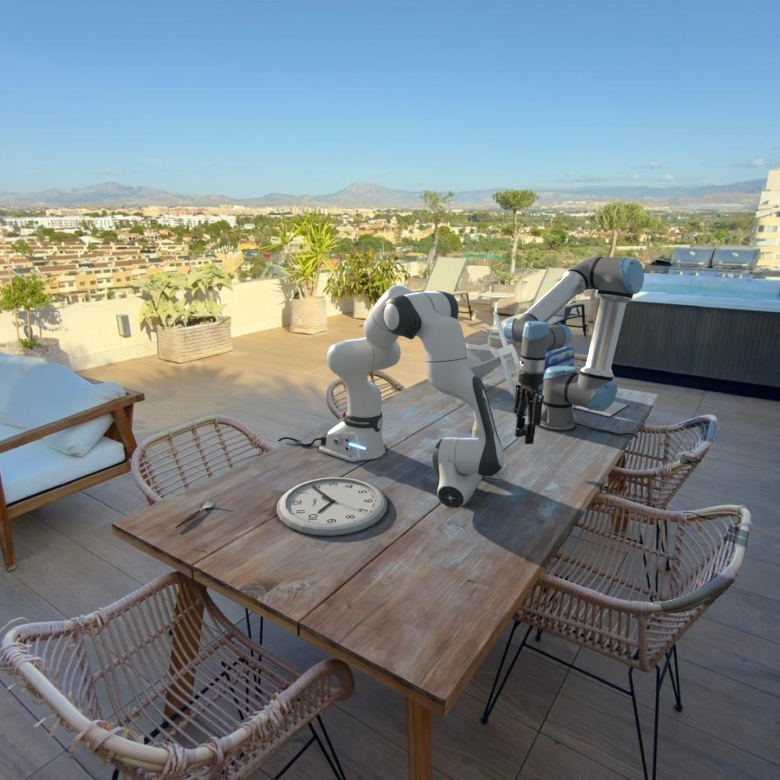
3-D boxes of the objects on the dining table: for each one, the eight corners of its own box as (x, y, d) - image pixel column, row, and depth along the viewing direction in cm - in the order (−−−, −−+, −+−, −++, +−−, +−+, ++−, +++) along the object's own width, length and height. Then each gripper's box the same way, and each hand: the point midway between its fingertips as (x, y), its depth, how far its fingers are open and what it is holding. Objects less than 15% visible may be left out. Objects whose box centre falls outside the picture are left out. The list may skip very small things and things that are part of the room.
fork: (171, 528, 130) (170, 521, 130) (212, 499, 145) (211, 492, 144) (179, 530, 129) (178, 523, 129) (220, 500, 144) (219, 494, 143)
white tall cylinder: (482, 470, 165) (486, 418, 160) (488, 477, 160) (492, 424, 155) (467, 471, 164) (470, 419, 159) (472, 478, 159) (476, 425, 154)
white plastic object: (461, 429, 252) (437, 405, 227) (444, 352, 274) (420, 323, 250) (535, 404, 240) (518, 377, 215) (510, 326, 262) (492, 293, 237)
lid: (527, 428, 173) (527, 423, 173) (537, 435, 168) (538, 429, 167) (512, 430, 171) (512, 424, 171) (522, 436, 166) (522, 431, 166)
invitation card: (608, 416, 214) (573, 407, 224) (608, 416, 214) (573, 408, 224) (628, 404, 229) (594, 396, 238) (628, 405, 229) (594, 397, 238)
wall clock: (392, 527, 129) (268, 531, 127) (391, 533, 130) (269, 537, 127) (383, 473, 158) (282, 475, 155) (383, 478, 158) (282, 480, 156)
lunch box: (546, 398, 236) (551, 353, 229) (525, 393, 243) (529, 349, 237) (573, 387, 253) (579, 344, 247) (553, 382, 260) (558, 341, 254)
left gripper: (504, 470, 144) (514, 451, 156) (434, 456, 152) (448, 439, 164) (502, 490, 146) (512, 470, 158) (433, 476, 154) (447, 458, 166)
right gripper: (506, 364, 171) (500, 430, 178) (536, 379, 154) (528, 452, 161) (527, 363, 173) (520, 428, 180) (558, 378, 156) (549, 450, 163)
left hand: (479, 455), depth 161 cm, fingers closed on white tall cylinder, 5 cm apart
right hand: (523, 439), depth 170 cm, fingers closed on lid, 6 cm apart
